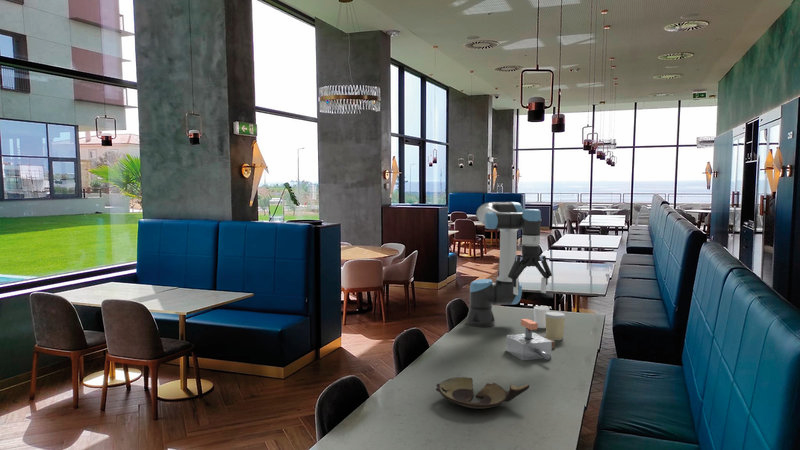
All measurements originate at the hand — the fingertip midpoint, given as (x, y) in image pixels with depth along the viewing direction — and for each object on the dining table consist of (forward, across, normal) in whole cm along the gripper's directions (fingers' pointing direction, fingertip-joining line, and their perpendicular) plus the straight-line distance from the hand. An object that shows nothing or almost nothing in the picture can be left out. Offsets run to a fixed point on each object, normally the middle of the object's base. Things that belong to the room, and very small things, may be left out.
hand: (529, 293), depth 234 cm
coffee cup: (+27, +25, +17) cm, 41 cm away
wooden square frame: (+27, +12, +7) cm, 30 cm away
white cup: (+27, +30, +37) cm, 55 cm away
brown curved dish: (+27, -44, -44) cm, 68 cm away
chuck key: (+24, 0, -1) cm, 24 cm away
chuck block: (+27, 0, -5) cm, 27 cm away
